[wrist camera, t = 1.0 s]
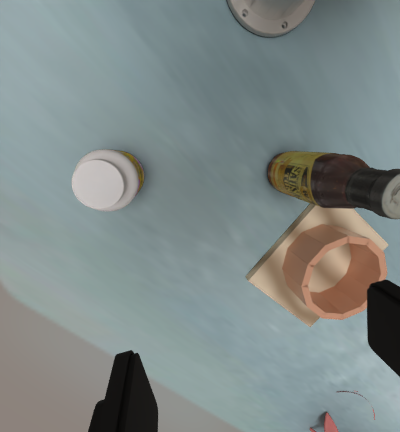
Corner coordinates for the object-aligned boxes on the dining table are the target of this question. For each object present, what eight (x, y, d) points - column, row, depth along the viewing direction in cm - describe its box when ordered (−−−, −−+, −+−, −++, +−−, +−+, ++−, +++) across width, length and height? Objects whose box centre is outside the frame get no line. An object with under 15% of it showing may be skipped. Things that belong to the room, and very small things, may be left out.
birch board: (325, 186, 40) (331, 187, 39) (381, 241, 44) (388, 244, 43) (245, 276, 42) (248, 280, 41) (305, 321, 46) (310, 327, 45)
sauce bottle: (259, 163, 38) (356, 173, 18) (294, 143, 38) (428, 133, 18) (275, 200, 39) (379, 243, 20) (309, 181, 39) (445, 207, 20)
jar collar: (322, 209, 39) (349, 218, 33) (370, 255, 43) (402, 270, 37) (267, 270, 41) (284, 289, 35) (318, 309, 44) (341, 333, 38)
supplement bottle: (144, 198, 36) (134, 221, 24) (97, 196, 35) (61, 219, 23) (145, 152, 35) (134, 151, 23) (96, 148, 34) (57, 145, 22)
